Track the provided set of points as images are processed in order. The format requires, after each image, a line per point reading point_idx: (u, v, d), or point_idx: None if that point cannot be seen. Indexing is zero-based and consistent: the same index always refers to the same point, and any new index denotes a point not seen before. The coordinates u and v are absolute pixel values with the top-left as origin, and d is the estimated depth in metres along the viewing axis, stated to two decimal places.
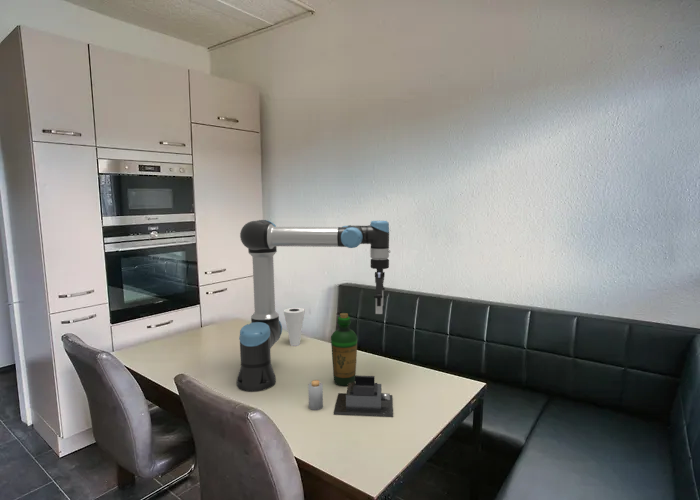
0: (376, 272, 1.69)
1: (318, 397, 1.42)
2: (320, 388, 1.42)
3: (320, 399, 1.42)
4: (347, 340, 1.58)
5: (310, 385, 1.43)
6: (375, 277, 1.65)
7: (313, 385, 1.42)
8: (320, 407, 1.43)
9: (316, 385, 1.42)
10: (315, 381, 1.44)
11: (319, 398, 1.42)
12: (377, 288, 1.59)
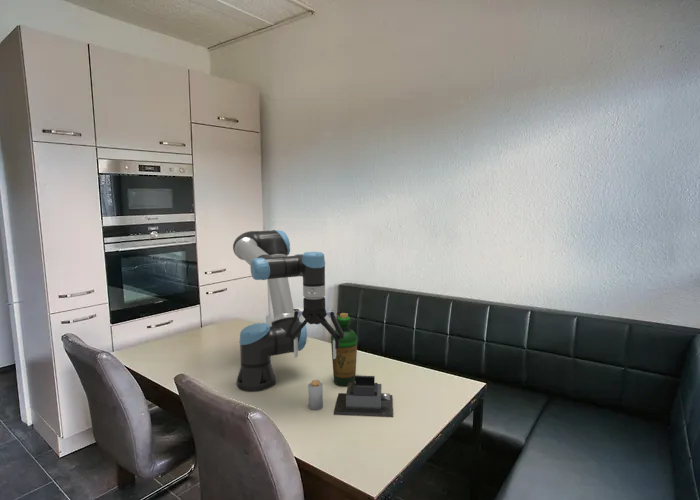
0: None
1: (318, 397, 1.42)
2: (320, 388, 1.42)
3: (320, 399, 1.42)
4: (347, 339, 1.58)
5: (310, 385, 1.43)
6: None
7: (313, 385, 1.42)
8: (320, 407, 1.43)
9: (316, 385, 1.42)
10: (315, 381, 1.44)
11: (319, 398, 1.42)
12: None
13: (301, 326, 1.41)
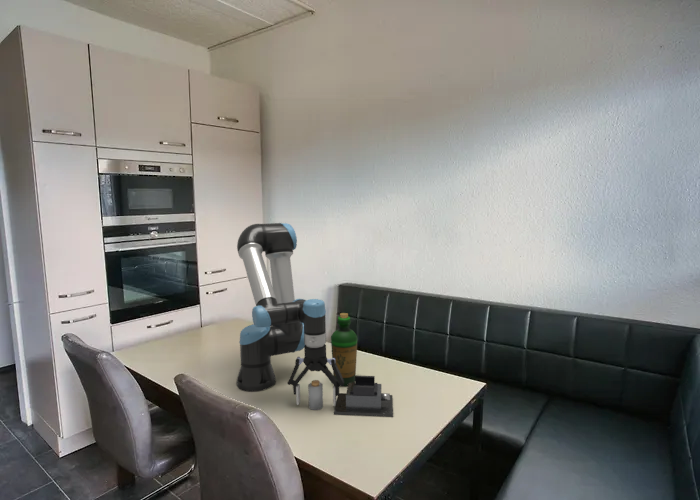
0: None
1: (318, 397, 1.42)
2: (320, 388, 1.42)
3: (320, 399, 1.42)
4: (347, 339, 1.58)
5: (310, 385, 1.43)
6: None
7: (313, 385, 1.42)
8: (320, 407, 1.43)
9: (316, 385, 1.42)
10: (315, 381, 1.44)
11: (319, 398, 1.42)
12: None
13: (303, 373, 1.42)
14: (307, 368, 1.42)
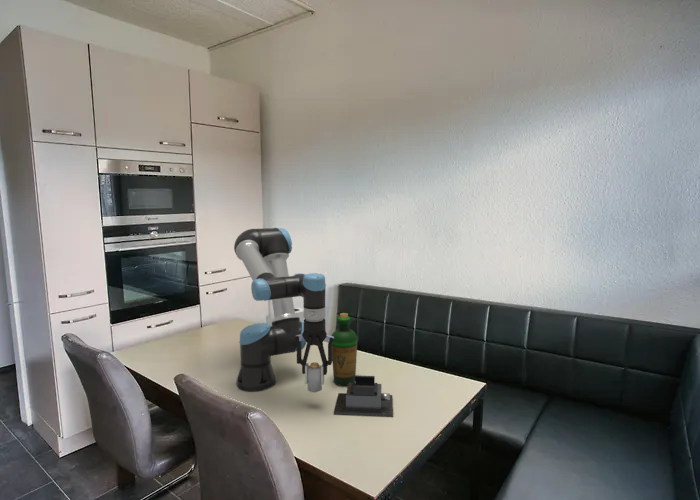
0: None
1: (317, 380, 1.42)
2: (319, 370, 1.42)
3: (318, 382, 1.42)
4: (347, 340, 1.58)
5: (309, 367, 1.43)
6: None
7: (312, 367, 1.42)
8: (319, 389, 1.43)
9: (315, 367, 1.42)
10: (314, 363, 1.43)
11: (317, 380, 1.42)
12: None
13: (306, 350, 1.42)
14: (308, 343, 1.41)
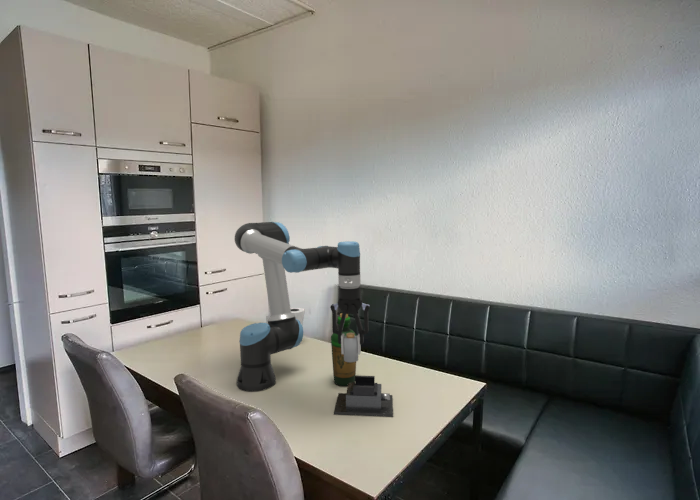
0: None
1: (354, 349, 1.39)
2: (355, 340, 1.40)
3: (355, 351, 1.40)
4: None
5: (345, 337, 1.41)
6: None
7: (348, 337, 1.40)
8: (356, 359, 1.40)
9: (351, 337, 1.40)
10: (350, 333, 1.41)
11: (354, 350, 1.40)
12: None
13: (342, 319, 1.40)
14: (344, 312, 1.39)
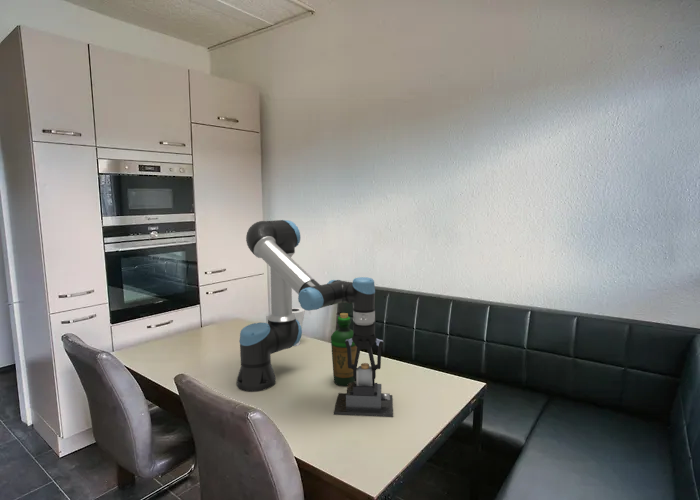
0: None
1: (368, 380, 1.41)
2: (370, 371, 1.42)
3: (370, 382, 1.42)
4: None
5: (360, 368, 1.43)
6: None
7: (363, 368, 1.42)
8: None
9: (366, 368, 1.42)
10: (364, 364, 1.43)
11: (369, 381, 1.42)
12: None
13: (357, 354, 1.42)
14: (358, 347, 1.41)
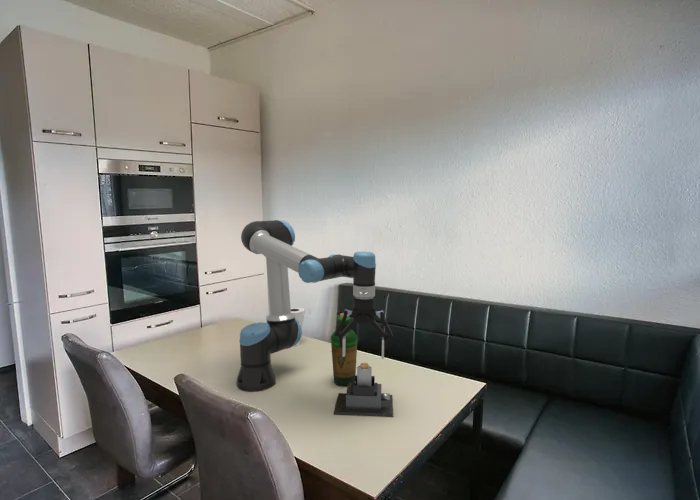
0: None
1: (368, 380, 1.42)
2: (369, 371, 1.42)
3: (369, 382, 1.42)
4: (347, 340, 1.58)
5: (359, 368, 1.43)
6: None
7: (362, 367, 1.42)
8: None
9: (365, 367, 1.42)
10: (364, 364, 1.43)
11: (368, 381, 1.42)
12: None
13: (350, 325, 1.41)
14: (355, 320, 1.40)
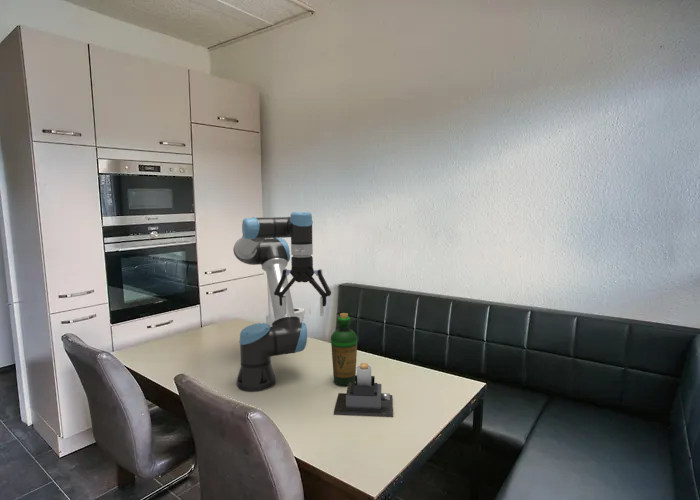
0: None
1: (367, 380, 1.41)
2: (369, 371, 1.41)
3: (368, 382, 1.42)
4: (347, 340, 1.58)
5: (359, 368, 1.43)
6: None
7: (362, 368, 1.42)
8: None
9: (365, 368, 1.42)
10: (364, 364, 1.43)
11: (367, 381, 1.41)
12: None
13: (289, 284, 1.45)
14: (294, 279, 1.44)
